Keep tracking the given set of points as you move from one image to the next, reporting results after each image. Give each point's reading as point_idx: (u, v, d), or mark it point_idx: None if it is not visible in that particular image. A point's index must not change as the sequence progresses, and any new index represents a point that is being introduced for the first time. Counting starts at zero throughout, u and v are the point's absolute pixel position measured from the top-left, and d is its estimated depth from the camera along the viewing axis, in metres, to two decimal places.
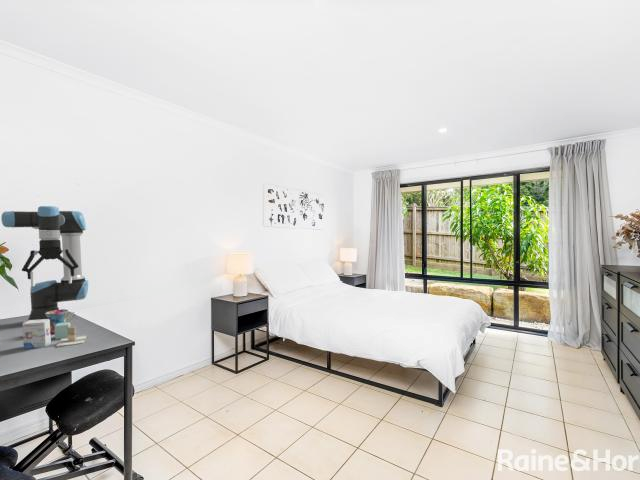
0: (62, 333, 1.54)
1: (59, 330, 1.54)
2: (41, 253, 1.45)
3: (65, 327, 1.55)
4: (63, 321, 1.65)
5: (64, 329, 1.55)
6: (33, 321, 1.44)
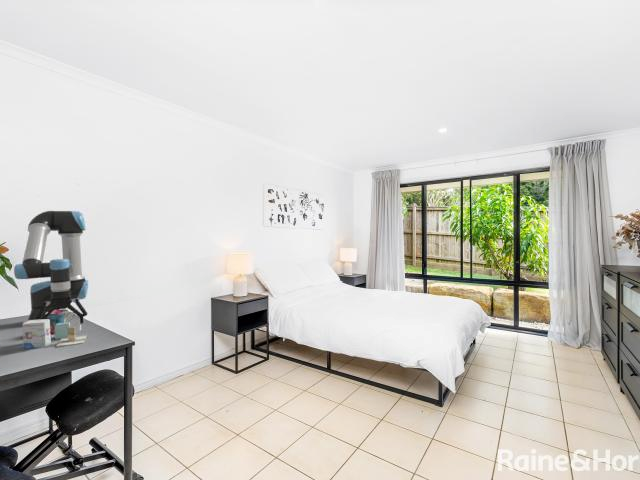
0: (62, 333, 1.54)
1: (59, 330, 1.54)
2: (53, 304, 1.53)
3: (65, 327, 1.55)
4: (63, 321, 1.65)
5: (64, 329, 1.55)
6: (33, 321, 1.44)
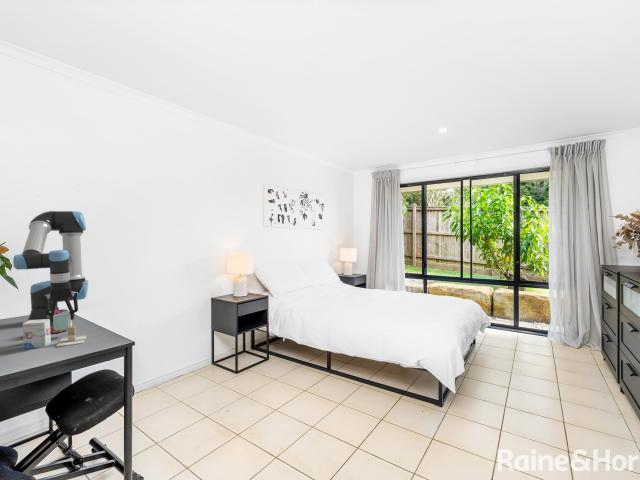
0: (62, 324, 1.55)
1: (59, 321, 1.54)
2: (53, 295, 1.54)
3: (65, 318, 1.55)
4: None
5: (64, 320, 1.55)
6: (33, 321, 1.44)
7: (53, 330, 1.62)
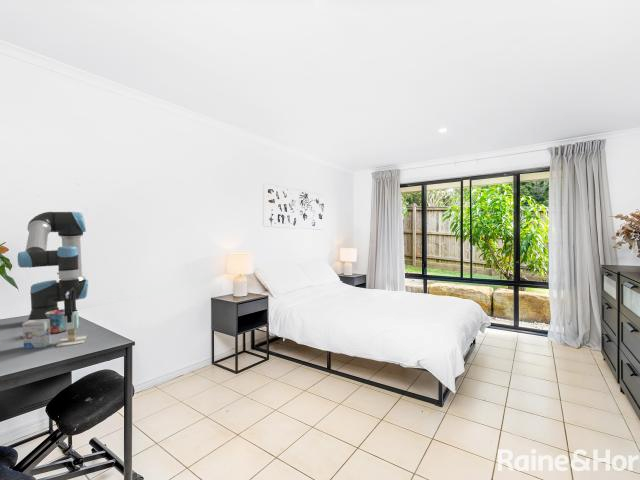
0: None
1: None
2: None
3: None
4: None
5: (63, 319, 1.48)
6: (33, 321, 1.44)
7: (53, 330, 1.62)
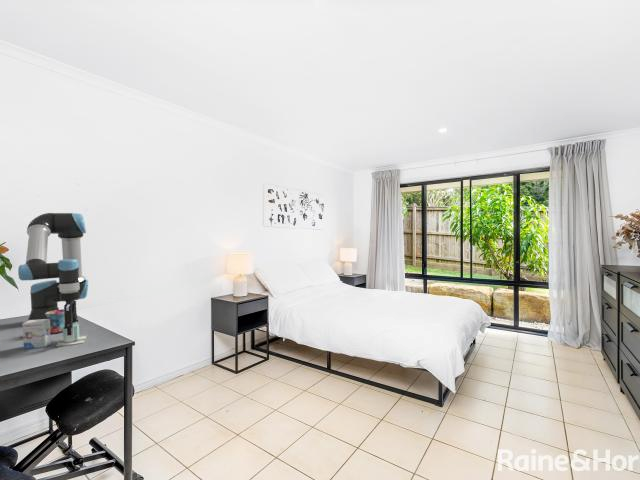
0: None
1: None
2: None
3: None
4: (63, 321, 1.65)
5: None
6: (33, 321, 1.44)
7: (53, 330, 1.62)
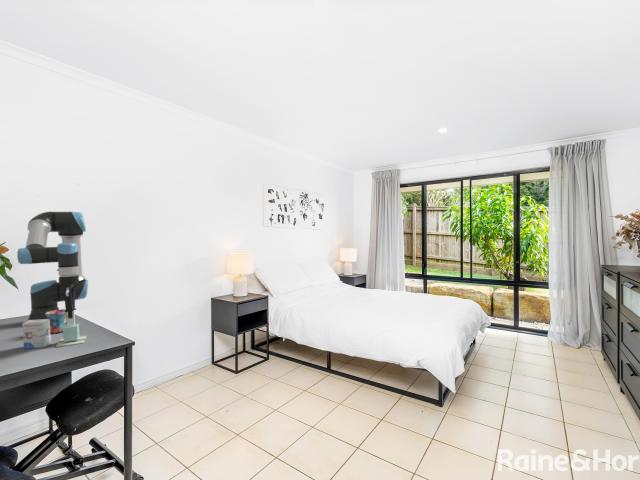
0: None
1: None
2: None
3: None
4: (63, 321, 1.65)
5: None
6: (33, 321, 1.44)
7: (53, 330, 1.62)
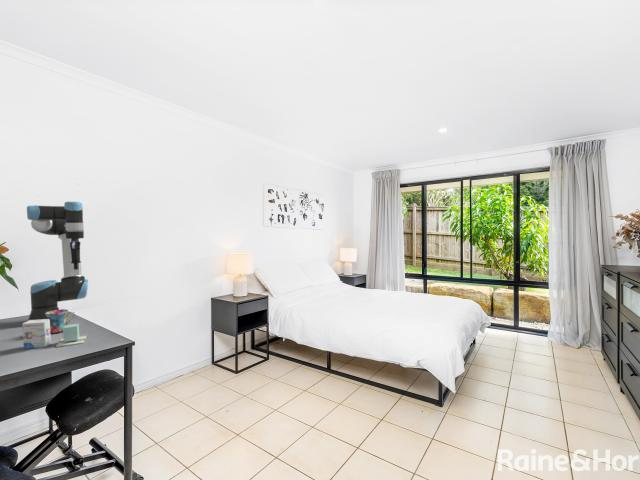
0: None
1: None
2: None
3: None
4: (63, 321, 1.65)
5: None
6: (33, 321, 1.44)
7: (53, 330, 1.62)
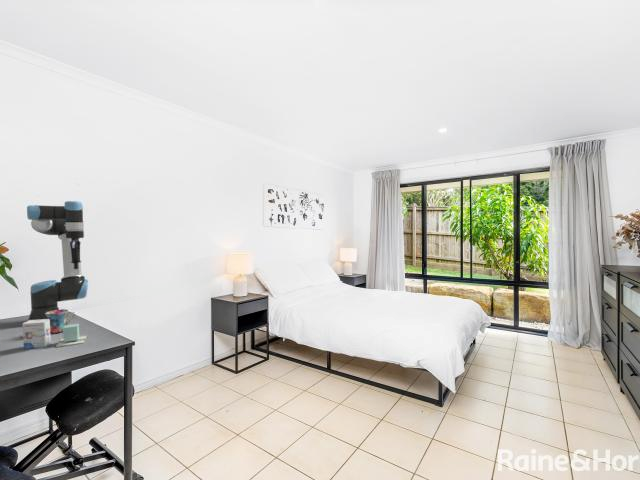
0: None
1: None
2: None
3: None
4: (63, 321, 1.65)
5: None
6: (33, 321, 1.44)
7: (53, 330, 1.62)
